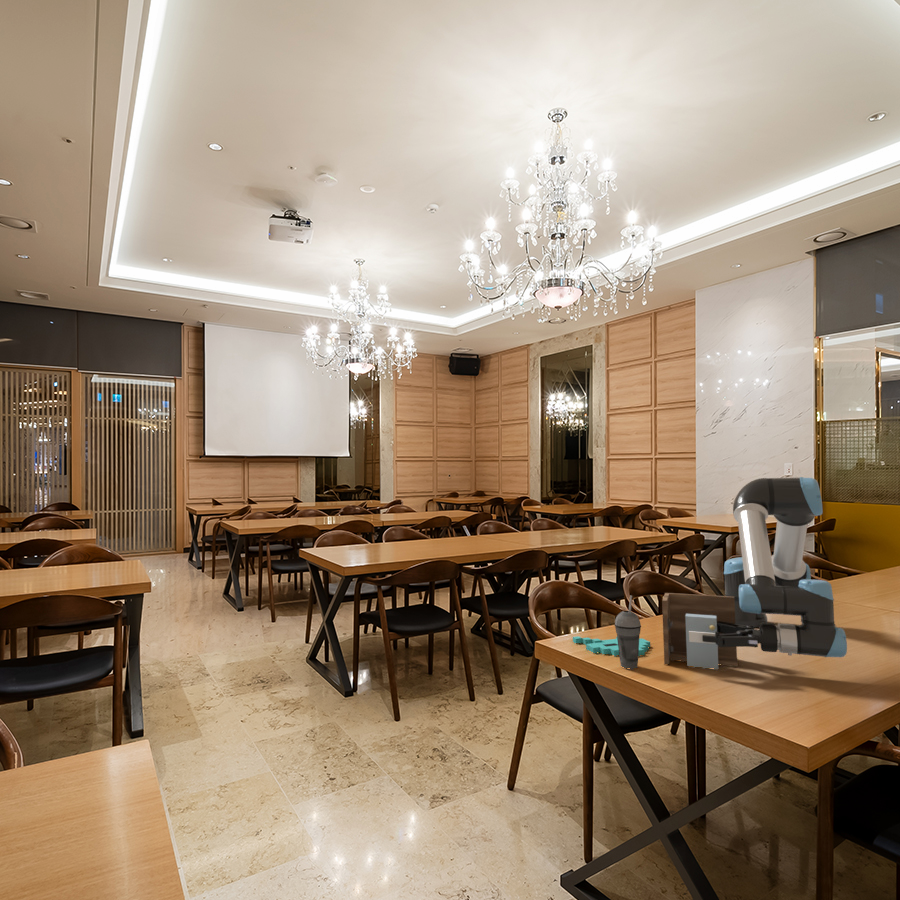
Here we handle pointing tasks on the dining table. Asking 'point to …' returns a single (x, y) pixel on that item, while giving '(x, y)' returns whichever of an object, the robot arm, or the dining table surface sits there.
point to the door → (701, 652)
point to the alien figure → (608, 645)
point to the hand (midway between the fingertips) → (689, 631)
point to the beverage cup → (628, 637)
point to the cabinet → (675, 623)
